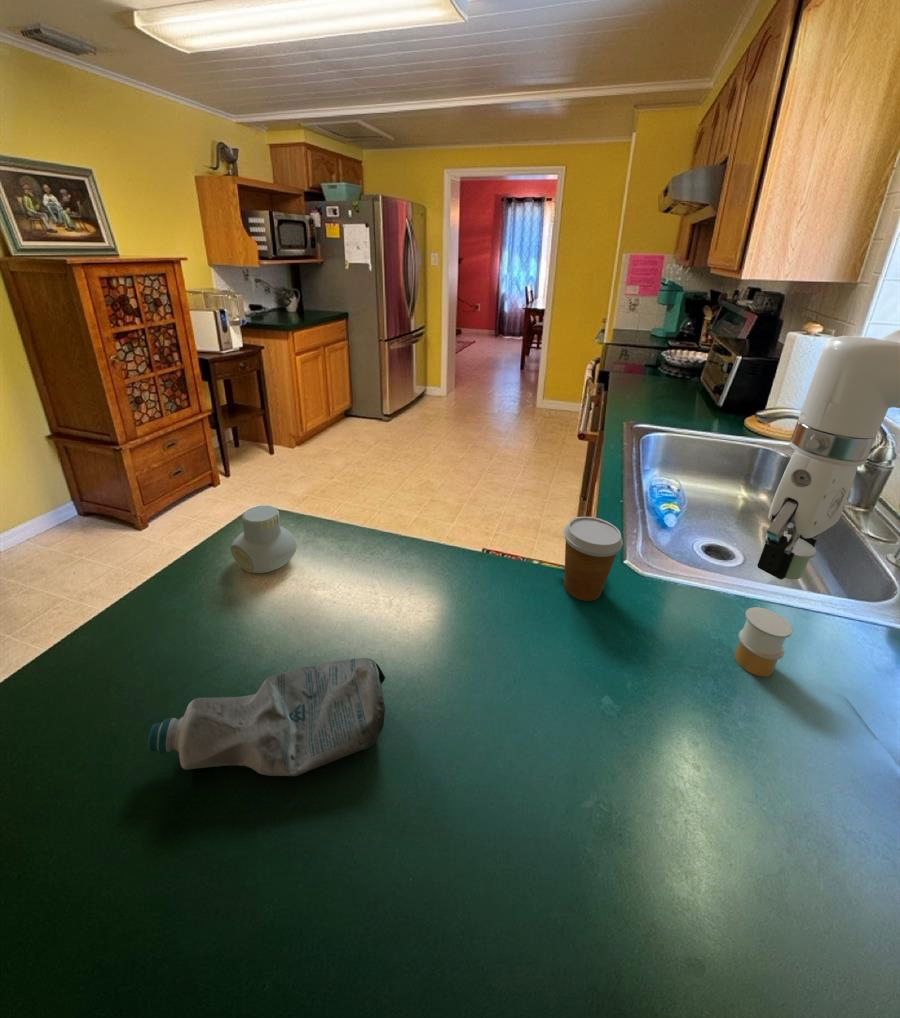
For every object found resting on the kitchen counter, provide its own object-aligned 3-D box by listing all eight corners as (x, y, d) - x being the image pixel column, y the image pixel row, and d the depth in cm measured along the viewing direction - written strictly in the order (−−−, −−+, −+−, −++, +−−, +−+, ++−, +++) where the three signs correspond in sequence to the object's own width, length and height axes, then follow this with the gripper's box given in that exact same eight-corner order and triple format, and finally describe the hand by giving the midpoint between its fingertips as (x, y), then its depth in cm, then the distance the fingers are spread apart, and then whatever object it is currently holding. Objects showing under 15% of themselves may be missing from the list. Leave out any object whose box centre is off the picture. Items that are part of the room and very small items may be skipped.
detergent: (381, 671, 63) (175, 698, 57) (383, 633, 60) (165, 657, 54) (392, 775, 52) (136, 822, 46) (395, 735, 49) (121, 780, 43)
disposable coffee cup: (553, 600, 79) (564, 540, 74) (555, 567, 87) (565, 511, 83) (612, 613, 77) (627, 551, 72) (608, 577, 85) (621, 520, 81)
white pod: (771, 630, 70) (779, 610, 68) (791, 660, 64) (801, 639, 63) (731, 625, 70) (739, 604, 69) (748, 654, 65) (757, 633, 64)
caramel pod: (763, 651, 71) (772, 631, 70) (783, 682, 66) (792, 661, 64) (725, 645, 72) (732, 625, 70) (741, 676, 66) (749, 655, 65)
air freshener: (227, 560, 84) (220, 511, 80) (268, 540, 90) (263, 494, 86) (262, 586, 78) (256, 535, 74) (304, 563, 84) (301, 515, 80)
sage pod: (791, 558, 66) (801, 534, 64) (815, 584, 61) (825, 559, 59) (749, 553, 66) (757, 529, 65) (769, 578, 61) (778, 553, 60)
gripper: (837, 466, 49) (781, 604, 56) (894, 441, 58) (840, 562, 65) (762, 442, 55) (719, 569, 62) (824, 422, 64) (782, 535, 71)
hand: (782, 564), depth 63 cm, fingers closed on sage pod, 5 cm apart
